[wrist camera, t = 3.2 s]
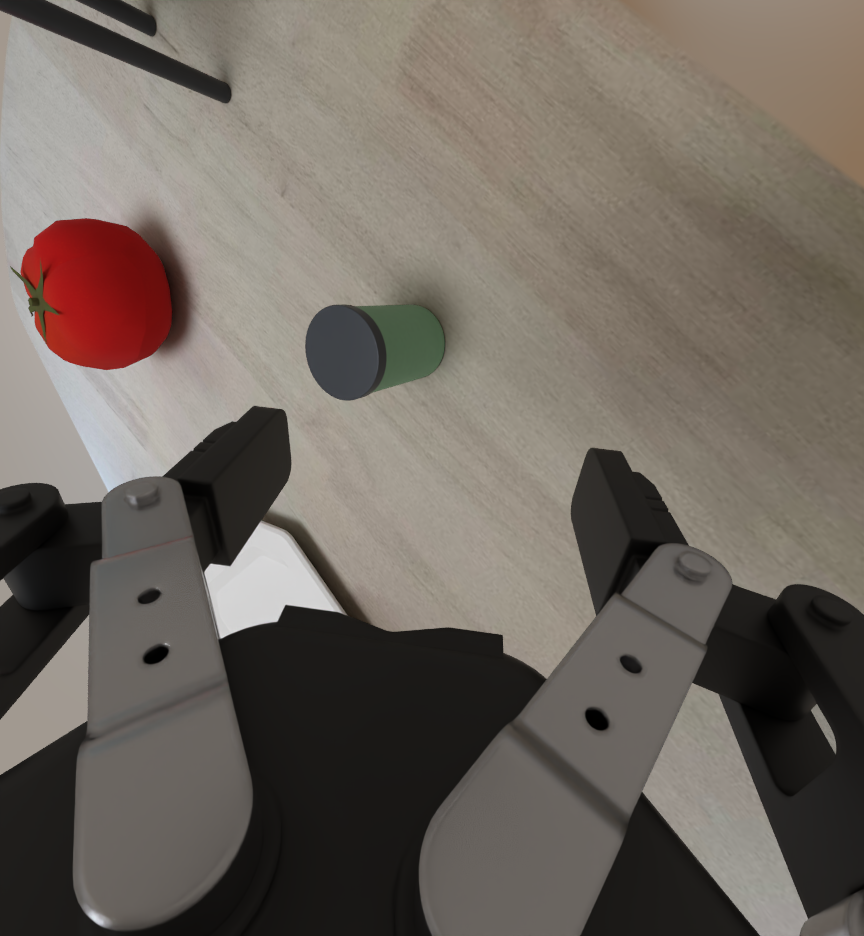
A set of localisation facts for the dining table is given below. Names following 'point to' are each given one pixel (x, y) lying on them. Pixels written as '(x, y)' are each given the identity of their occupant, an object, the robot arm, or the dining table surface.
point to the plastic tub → (372, 347)
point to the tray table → (116, 39)
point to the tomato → (97, 293)
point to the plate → (265, 582)
